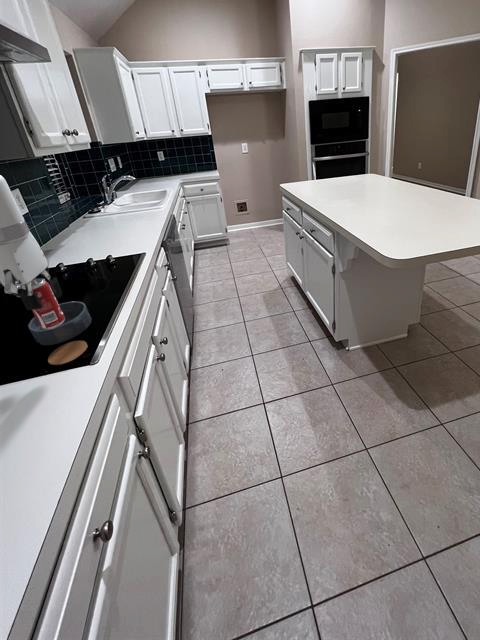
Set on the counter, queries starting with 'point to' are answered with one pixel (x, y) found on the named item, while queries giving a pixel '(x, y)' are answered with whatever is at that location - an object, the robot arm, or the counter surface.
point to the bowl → (63, 325)
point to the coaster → (67, 352)
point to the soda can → (46, 305)
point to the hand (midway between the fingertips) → (42, 300)
